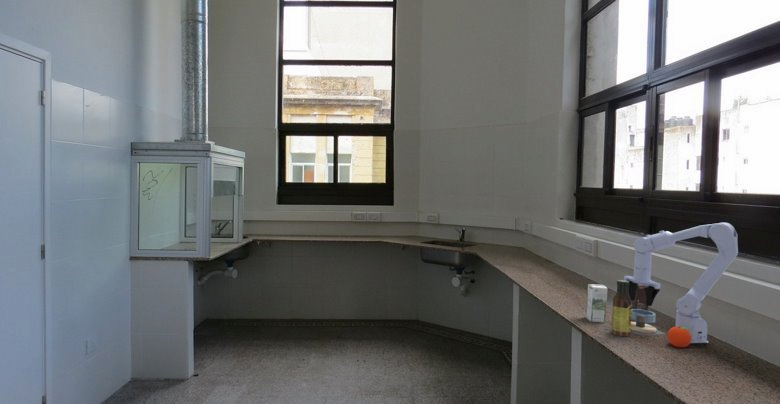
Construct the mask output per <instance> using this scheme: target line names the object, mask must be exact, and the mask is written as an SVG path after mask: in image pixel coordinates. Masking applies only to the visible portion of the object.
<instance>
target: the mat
mask: <svg viewBox="0 0 780 404" xmlns="http://www.w3.org/2000/svg"><path fill="white" fill-rule="evenodd" d="M630 333H633V334H635V335H638V336H640V335H644V336H645V335H646V336H647V335H649V334H647V333H639V332H635V331H631V332H630ZM651 335H666V332H663V331H660V330H658V329H656V333H652V334H651Z"/></svg>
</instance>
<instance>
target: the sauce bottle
mask: <svg viewBox="0 0 780 404" xmlns="http://www.w3.org/2000/svg"><path fill="white" fill-rule="evenodd" d="M616 285H617V286H616V294H615V295H614V296H613V298H612V309H611V310H612V311H611V312H612V313H611V333H612V334H613V335H614V336H615V335H616V336H619V337H624V338H627V337H630V335H631V333H632V332H631V322H632V320H631V314H632V302H631V299H630V296H629V291H628V290H629V281H626V280H624V279H617V280H616Z"/></svg>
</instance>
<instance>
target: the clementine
mask: <svg viewBox="0 0 780 404" xmlns="http://www.w3.org/2000/svg"><path fill="white" fill-rule="evenodd" d="M686 329H687V328H684V327H680V326H679V327H675V326H673V327H670V328H669V330H668V331H667V334H666V337H667V339H668V342H669V343H670V344H671V345H672V346H674V347H676V348H686V347H688V346H690V344H691V343H690V342H691V335H690V333H689V332H688V331H687V330H689V329H687V330H686ZM691 332H692V331H691ZM693 334H694V333H693ZM694 336H695V335H694Z"/></svg>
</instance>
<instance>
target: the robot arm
mask: <svg viewBox="0 0 780 404" xmlns="http://www.w3.org/2000/svg"><path fill="white" fill-rule="evenodd" d="M738 235H739V234H738V233H737V231H736V229H735V227H734V226H733V225H732V224H731V223H729V222H723V221H722V222H719V223H712V224H709V223H708V224H703V225H698V226H694V227H691V228H687V229H683V230H679V231H677V232H676V231H675V232H670V231H668V230H666V231H665V230H659V232H658V233H655V234H652V235H650V234H646V235H645V237H639V238H637V239H635V241H634V242H633V248H634V250H635V251H634V252H635V254H634V261H633V262H634V263H633V276H630V275H624V276H623V277H624V278H623V280H626V281H629V290H628V291H629V296H630V299H631V301H635V296H636V289H637V286H638V284H641V285H645V286H649V287H645V288H644V289H645V292H646V306H648V307H651V306H652V307H653V304H654V301H655V298H656V296H657V295H658V294H659V292H660V291H661V285H662V284H661V283H660V282H656V281H653V280H652V279H651V274H652V273H651V272H652V253H653V252H652V251H656V250H657V251H658V250H661V249H666V248H670V247H673V246H674V245H675V243H676V242H678V241H682V240H687V239H692V238H696V237H701V238H706V239H709V238H710V239H711V240H712V241H713V242H714V244H715V245H716V247H717V250H718V253H717V255H716V256H715V257H714V258H713V260H712V261H711V262H710V264H709V265H708V266H707V267H706V269H705V270H704V272H703V273H702V274H701V275H700V277H699V278H698V279H697V281H695V283H694V284H693V286H692V287H691V288H690V289H689V290H688V292H687V293H685V295H683V296H682V297H680V298H678V299H677V300H676V301H675V307H676V312H675V313H676V315H675V326H674V327H679V326H680V327H684V328H687V329H689V330H687V329H686V330H687V331H688V332H689V333H690V335H691V342H690V344H708V343H709V341H708V329H709V326H708V323H707V321H706V320H705V319H703V318H702V317H701V313H700V312H699V310H700V309H701V307H702V304H703V300H704V299H705V298H706V296H707V294H708V293H709V292H710V291H711V289H712V288H713V286H714V285H715V284H716V283H717V281H718V280H719V279H720V278H721V277H722V275H723V274H724V272H725V271H726V270H727V269H728V268H729V266H730V265H731V264H732V263H733V261H734V260H735V259H736V258H737V256H738V254H739V246H738V243H739V242H738ZM643 283H644V284H643ZM691 331H692V332H691ZM693 333H694V334H693ZM694 335H695V336H694Z"/></svg>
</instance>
